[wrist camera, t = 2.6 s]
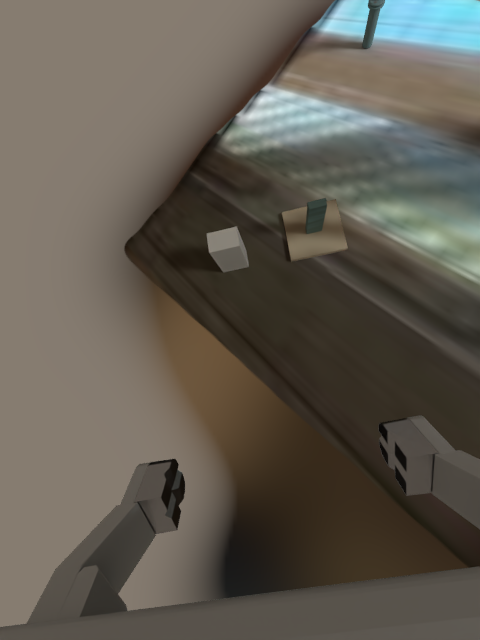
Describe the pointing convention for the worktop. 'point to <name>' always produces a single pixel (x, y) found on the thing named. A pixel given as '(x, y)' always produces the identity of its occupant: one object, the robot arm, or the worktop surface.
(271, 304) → the worktop surface
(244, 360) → the worktop surface
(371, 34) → the hook
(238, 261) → the grey rectangular block
